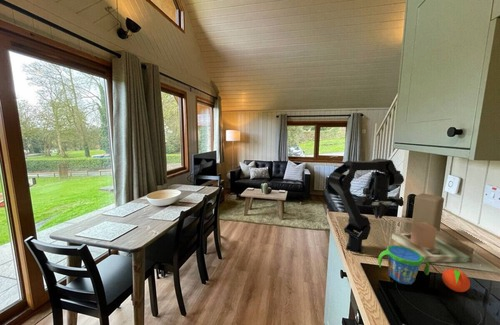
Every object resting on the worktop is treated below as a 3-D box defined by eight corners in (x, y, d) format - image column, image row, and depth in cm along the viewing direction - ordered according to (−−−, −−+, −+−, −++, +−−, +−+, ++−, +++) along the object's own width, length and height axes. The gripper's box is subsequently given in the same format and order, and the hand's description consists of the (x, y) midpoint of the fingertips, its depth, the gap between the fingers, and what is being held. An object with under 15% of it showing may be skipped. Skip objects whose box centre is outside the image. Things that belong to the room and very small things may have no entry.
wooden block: (439, 233, 114) (444, 197, 111) (433, 238, 108) (438, 200, 105) (417, 226, 122) (421, 192, 119) (410, 230, 116) (414, 195, 114)
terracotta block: (420, 247, 95) (423, 228, 93) (410, 240, 101) (412, 222, 99) (433, 247, 95) (436, 228, 93) (423, 240, 101) (425, 222, 99)
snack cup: (421, 275, 80) (425, 249, 78) (433, 294, 70) (437, 266, 69) (374, 265, 85) (376, 241, 84) (379, 282, 76) (382, 255, 74)
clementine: (469, 302, 67) (473, 282, 66) (440, 291, 72) (443, 272, 71) (467, 289, 73) (471, 270, 72) (440, 279, 78) (443, 261, 77)
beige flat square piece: (423, 261, 88) (425, 248, 87) (391, 238, 108) (392, 226, 107) (471, 262, 88) (473, 248, 87) (430, 238, 108) (432, 227, 107)
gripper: (389, 182, 106) (386, 212, 108) (352, 181, 106) (350, 211, 108) (406, 188, 95) (402, 221, 97) (364, 187, 95) (361, 220, 97)
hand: (378, 218), depth 100 cm, fingers closed
